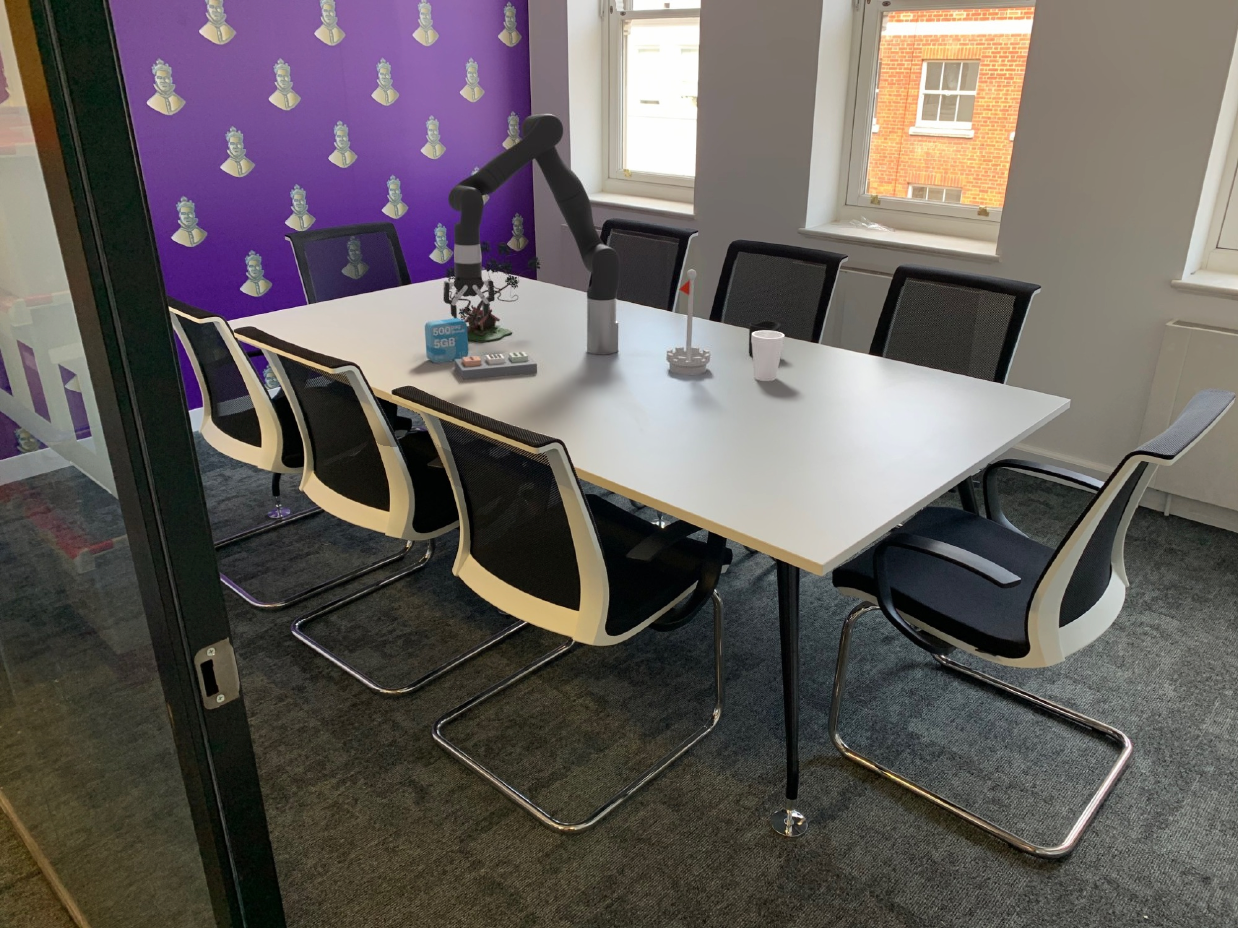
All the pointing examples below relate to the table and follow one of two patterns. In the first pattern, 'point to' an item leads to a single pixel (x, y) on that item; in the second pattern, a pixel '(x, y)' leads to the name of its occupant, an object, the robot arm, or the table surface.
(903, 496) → the table surface
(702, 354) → the flag stand
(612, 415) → the table surface
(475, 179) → the robot arm
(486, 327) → the bonsai tree
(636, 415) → the table surface
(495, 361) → the button three
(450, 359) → the data package
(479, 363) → the button one
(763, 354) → the foam cup
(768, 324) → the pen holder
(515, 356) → the button two
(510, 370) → the button panel
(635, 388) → the table surface
